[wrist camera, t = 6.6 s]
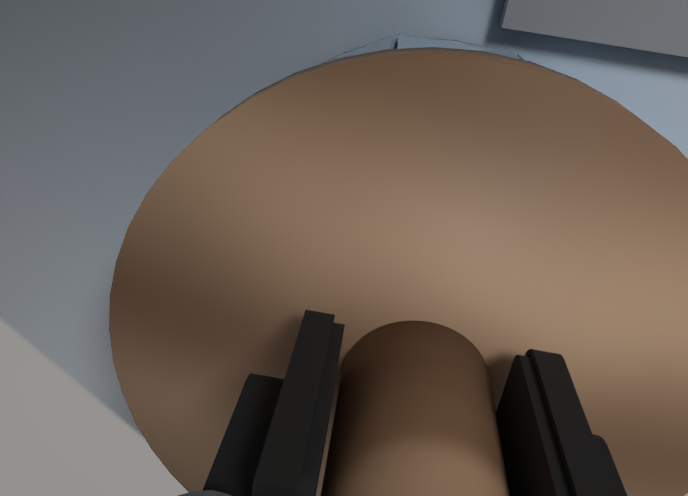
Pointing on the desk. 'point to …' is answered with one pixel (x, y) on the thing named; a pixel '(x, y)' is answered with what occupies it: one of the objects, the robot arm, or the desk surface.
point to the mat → (605, 22)
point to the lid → (414, 270)
